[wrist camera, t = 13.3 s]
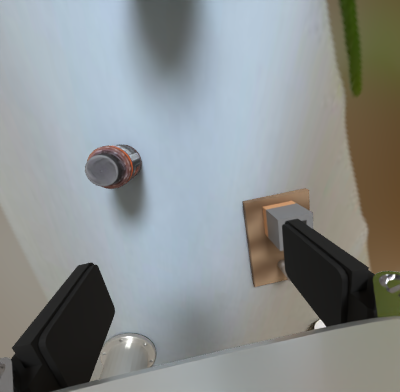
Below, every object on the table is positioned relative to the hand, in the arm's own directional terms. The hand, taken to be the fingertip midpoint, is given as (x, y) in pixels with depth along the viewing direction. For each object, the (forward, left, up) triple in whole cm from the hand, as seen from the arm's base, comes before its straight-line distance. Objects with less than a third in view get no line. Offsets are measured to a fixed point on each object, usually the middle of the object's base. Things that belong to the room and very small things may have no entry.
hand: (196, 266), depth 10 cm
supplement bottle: (+4, +10, -28) cm, 30 cm away
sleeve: (-12, -16, -27) cm, 34 cm away
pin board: (-18, -16, -28) cm, 37 cm away
